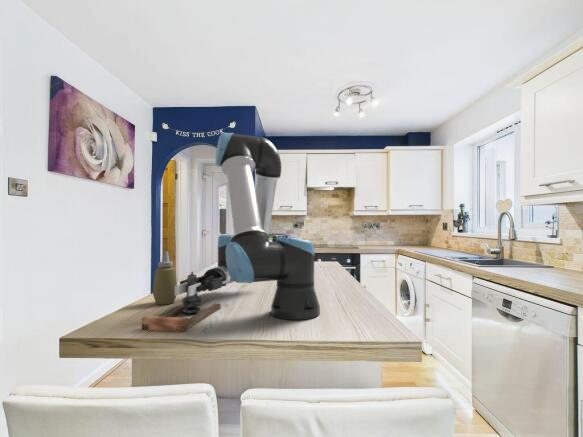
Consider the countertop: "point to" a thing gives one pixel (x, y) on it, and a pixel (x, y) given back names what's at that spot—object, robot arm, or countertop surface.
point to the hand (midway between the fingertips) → (182, 291)
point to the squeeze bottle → (165, 282)
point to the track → (176, 319)
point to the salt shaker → (191, 300)
